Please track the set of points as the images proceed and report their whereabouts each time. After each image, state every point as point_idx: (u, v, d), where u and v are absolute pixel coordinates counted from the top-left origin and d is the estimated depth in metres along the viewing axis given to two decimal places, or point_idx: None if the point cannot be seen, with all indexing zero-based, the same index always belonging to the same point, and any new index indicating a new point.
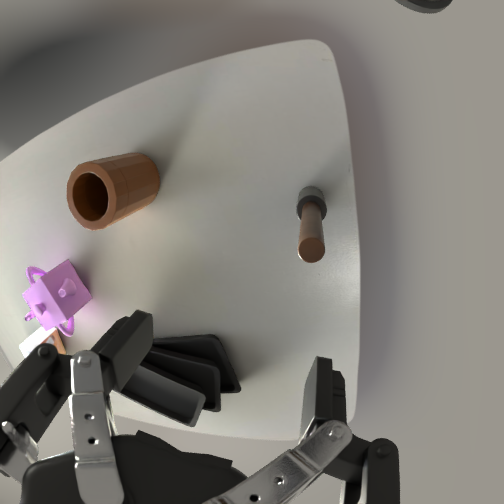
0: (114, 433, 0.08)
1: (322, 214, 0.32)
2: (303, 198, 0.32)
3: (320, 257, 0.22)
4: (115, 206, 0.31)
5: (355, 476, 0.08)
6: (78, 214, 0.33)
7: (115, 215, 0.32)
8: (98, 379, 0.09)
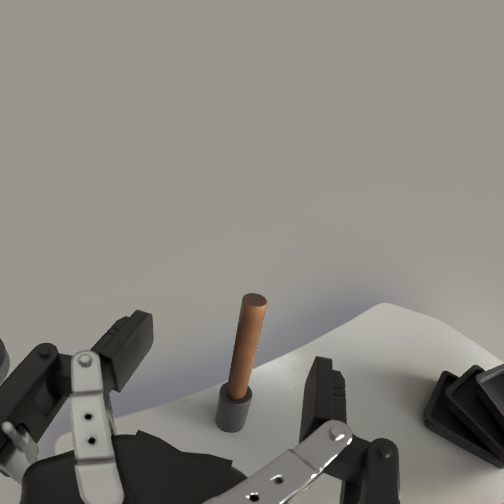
0: (114, 433, 0.08)
1: None
2: (228, 401, 0.28)
3: (255, 294, 0.25)
4: None
5: (355, 476, 0.08)
6: None
7: None
8: (98, 379, 0.09)
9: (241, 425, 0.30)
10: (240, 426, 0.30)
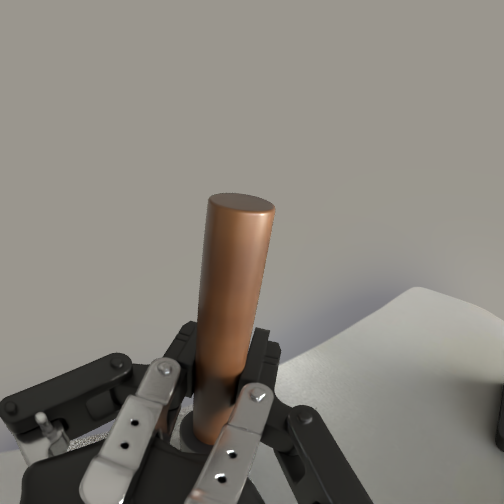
0: None
1: None
2: (196, 450, 0.12)
3: (245, 194, 0.10)
4: None
5: (279, 442, 0.09)
6: None
7: None
8: (168, 391, 0.09)
9: None
10: None
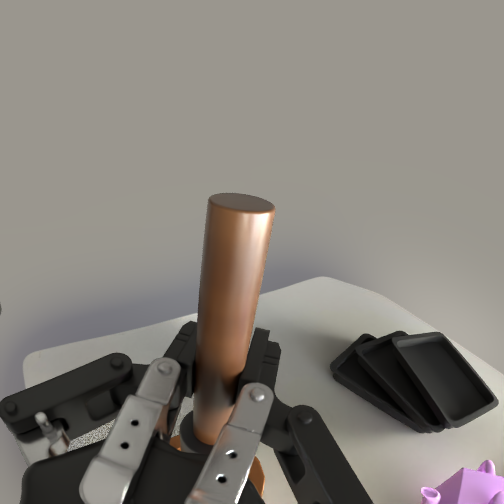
0: None
1: None
2: (196, 450, 0.12)
3: (245, 194, 0.10)
4: None
5: (279, 442, 0.09)
6: None
7: None
8: (168, 391, 0.09)
9: None
10: None
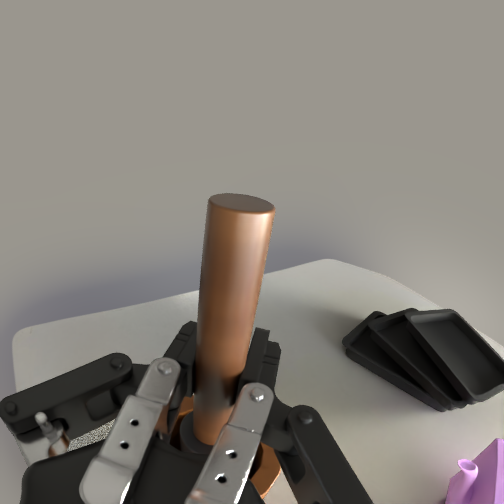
0: None
1: None
2: (196, 450, 0.12)
3: (245, 195, 0.10)
4: None
5: (280, 442, 0.09)
6: (262, 467, 0.14)
7: None
8: (168, 391, 0.09)
9: None
10: None
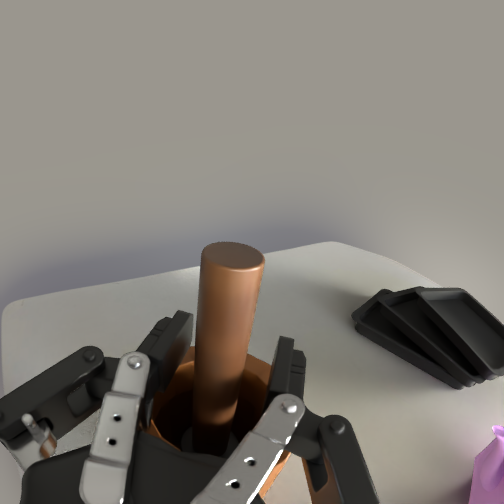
0: None
1: None
2: None
3: (237, 243, 0.10)
4: None
5: (310, 452, 0.09)
6: None
7: None
8: (142, 384, 0.09)
9: None
10: None
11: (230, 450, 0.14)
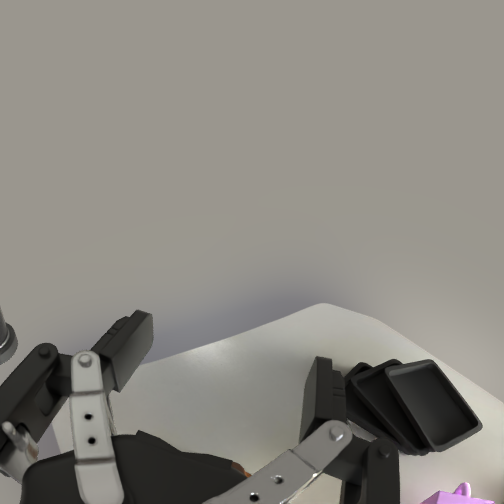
0: (114, 433, 0.08)
1: None
2: None
3: (232, 463, 0.17)
4: None
5: (355, 476, 0.08)
6: None
7: None
8: (98, 379, 0.09)
9: None
10: None
11: None
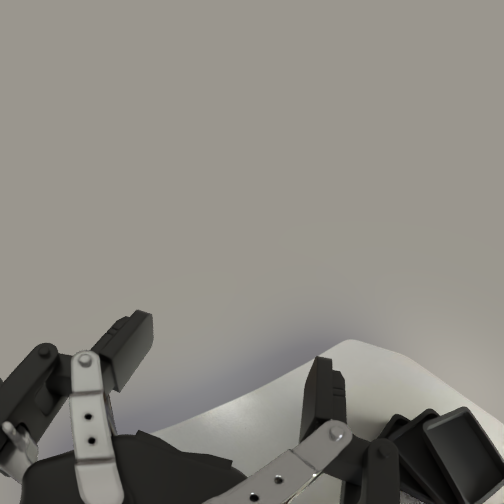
0: (114, 433, 0.08)
1: None
2: None
3: None
4: None
5: (355, 476, 0.08)
6: None
7: None
8: (98, 379, 0.09)
9: None
10: None
11: None
